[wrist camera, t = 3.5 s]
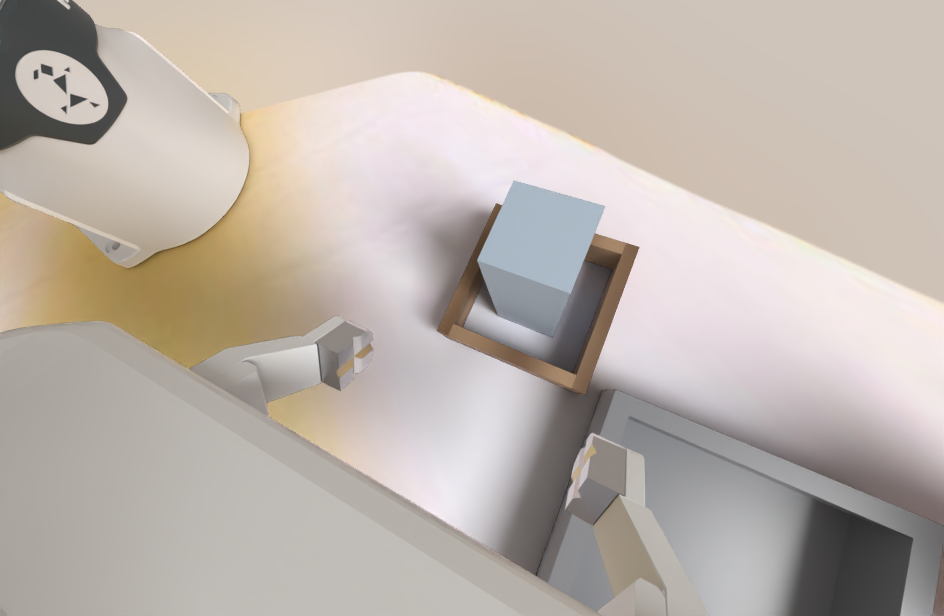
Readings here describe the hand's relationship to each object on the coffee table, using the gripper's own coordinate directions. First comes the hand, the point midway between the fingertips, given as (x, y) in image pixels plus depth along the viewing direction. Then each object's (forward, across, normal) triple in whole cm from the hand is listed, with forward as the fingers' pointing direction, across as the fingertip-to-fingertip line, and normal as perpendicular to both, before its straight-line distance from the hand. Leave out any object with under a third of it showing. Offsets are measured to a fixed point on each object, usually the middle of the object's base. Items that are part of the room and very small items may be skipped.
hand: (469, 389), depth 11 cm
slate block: (+13, 0, +3) cm, 13 cm away
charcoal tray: (+5, -13, +11) cm, 18 cm away
